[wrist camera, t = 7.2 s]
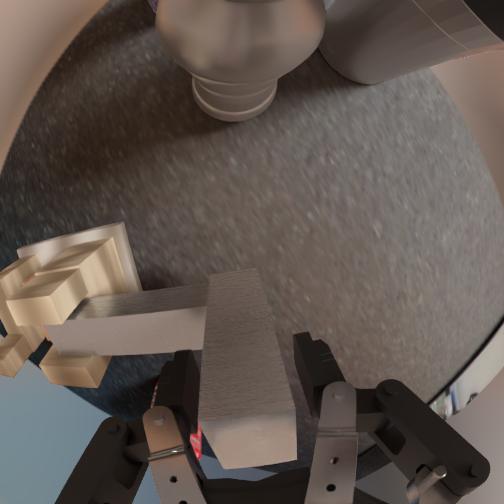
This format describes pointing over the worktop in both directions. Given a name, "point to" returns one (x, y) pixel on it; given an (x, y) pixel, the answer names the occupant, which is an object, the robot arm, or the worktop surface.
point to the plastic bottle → (238, 48)
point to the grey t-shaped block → (203, 357)
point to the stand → (62, 297)
